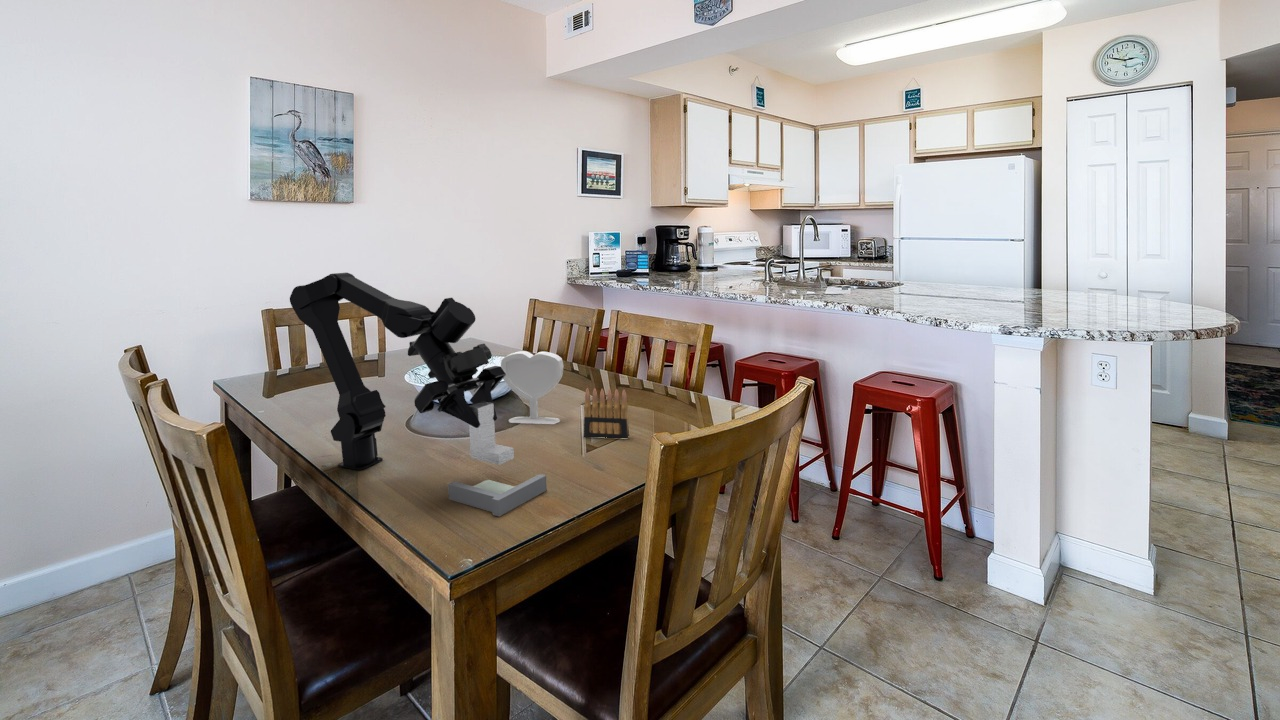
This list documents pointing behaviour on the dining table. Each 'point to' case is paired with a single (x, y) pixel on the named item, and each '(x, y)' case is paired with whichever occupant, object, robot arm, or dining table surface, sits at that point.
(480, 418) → the white l-shaped block
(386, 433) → the dining table surface
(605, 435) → the ammunition clip
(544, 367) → the heart sculpture
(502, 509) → the corner bracket
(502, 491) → the mat
